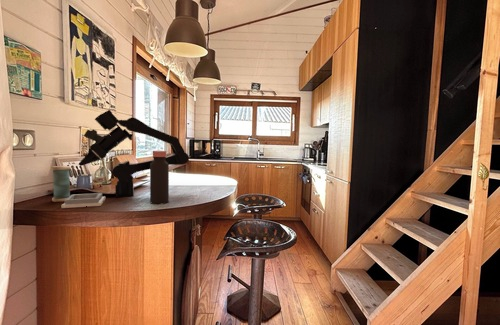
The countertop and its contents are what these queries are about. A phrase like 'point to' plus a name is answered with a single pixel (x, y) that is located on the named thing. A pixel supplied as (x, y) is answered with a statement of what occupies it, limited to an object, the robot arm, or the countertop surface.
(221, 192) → the countertop surface
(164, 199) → the bottle
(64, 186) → the bobbin
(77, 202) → the grey flat square tray
